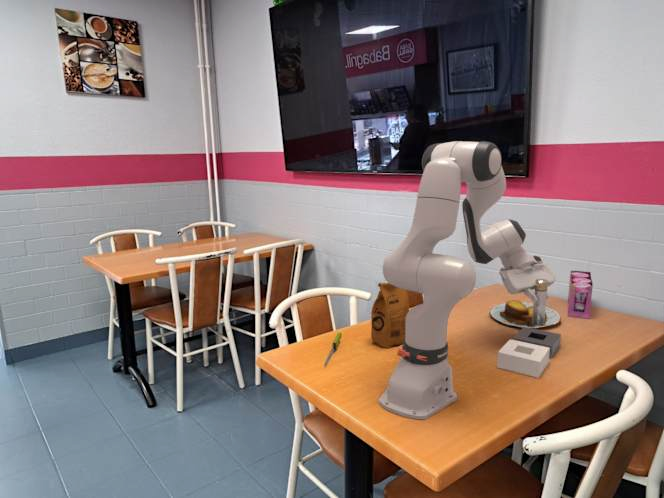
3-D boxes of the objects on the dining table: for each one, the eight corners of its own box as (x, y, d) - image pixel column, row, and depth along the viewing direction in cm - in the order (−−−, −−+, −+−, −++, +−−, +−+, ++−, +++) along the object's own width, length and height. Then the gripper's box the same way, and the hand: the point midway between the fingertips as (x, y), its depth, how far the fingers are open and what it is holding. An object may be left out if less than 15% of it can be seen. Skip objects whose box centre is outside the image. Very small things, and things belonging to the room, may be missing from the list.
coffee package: (367, 341, 164) (366, 280, 160) (393, 332, 171) (394, 274, 167) (385, 350, 156) (385, 287, 152) (412, 341, 163) (413, 280, 159)
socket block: (551, 358, 148) (552, 346, 147) (512, 349, 155) (513, 338, 154) (560, 345, 157) (561, 334, 157) (522, 337, 165) (523, 326, 164)
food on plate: (574, 324, 177) (575, 307, 176) (527, 336, 166) (528, 319, 165) (520, 305, 199) (521, 290, 198) (476, 315, 188) (477, 299, 187)
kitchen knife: (326, 372, 144) (326, 363, 143) (322, 372, 144) (322, 363, 143) (341, 339, 165) (341, 331, 164) (338, 339, 165) (338, 331, 164)
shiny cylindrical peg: (542, 326, 152) (546, 282, 149) (530, 324, 154) (534, 280, 151) (545, 323, 155) (549, 279, 152) (533, 321, 157) (537, 278, 154)
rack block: (538, 378, 136) (539, 362, 135) (497, 367, 143) (497, 352, 142) (548, 362, 145) (549, 347, 144) (509, 353, 152) (509, 339, 151)
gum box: (590, 320, 179) (593, 286, 177) (567, 317, 183) (570, 284, 180) (588, 302, 200) (591, 271, 198) (567, 300, 204) (570, 270, 201)
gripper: (503, 263, 151) (526, 300, 145) (544, 256, 161) (568, 290, 155) (491, 274, 156) (513, 310, 150) (532, 266, 166) (555, 299, 159)
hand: (541, 300), depth 152 cm, fingers closed on shiny cylindrical peg, 4 cm apart
